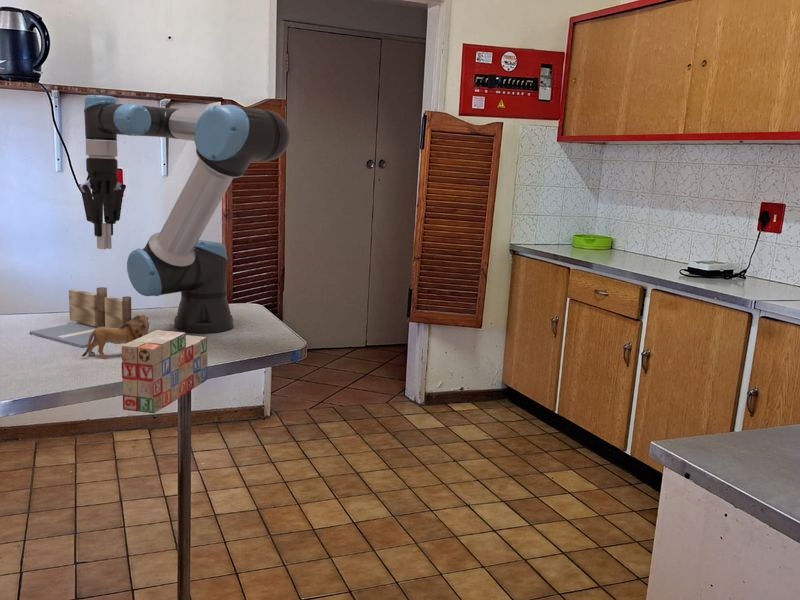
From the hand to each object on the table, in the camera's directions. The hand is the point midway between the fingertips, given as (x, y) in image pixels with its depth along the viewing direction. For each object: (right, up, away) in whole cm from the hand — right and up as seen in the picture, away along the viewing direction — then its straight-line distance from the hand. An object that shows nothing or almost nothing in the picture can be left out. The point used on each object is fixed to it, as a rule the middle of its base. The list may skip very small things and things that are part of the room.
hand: (104, 248), depth 195 cm
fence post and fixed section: (+7, -22, -10) cm, 25 cm away
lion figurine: (+14, -26, -28) cm, 41 cm away
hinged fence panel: (-3, -19, -4) cm, 20 cm away
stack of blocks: (+33, -32, -52) cm, 70 cm away
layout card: (0, -22, -11) cm, 25 cm away
